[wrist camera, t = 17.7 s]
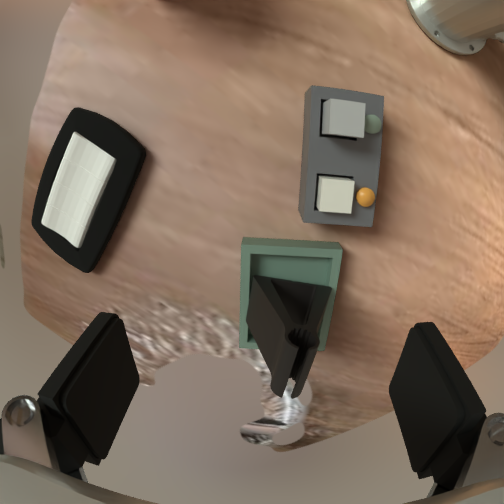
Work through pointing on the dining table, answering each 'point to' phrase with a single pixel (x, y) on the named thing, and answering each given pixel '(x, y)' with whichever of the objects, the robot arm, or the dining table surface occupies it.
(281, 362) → the phone stand
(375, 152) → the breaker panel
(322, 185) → the block
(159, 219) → the dining table surface
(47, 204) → the light switch
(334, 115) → the block
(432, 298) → the dining table surface
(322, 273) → the tray
